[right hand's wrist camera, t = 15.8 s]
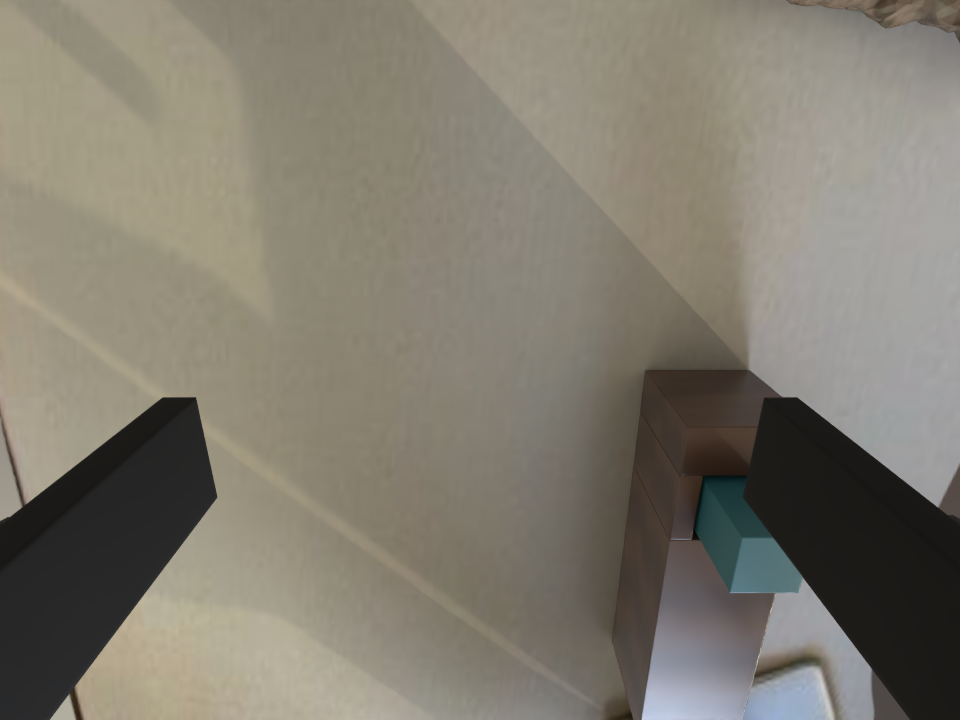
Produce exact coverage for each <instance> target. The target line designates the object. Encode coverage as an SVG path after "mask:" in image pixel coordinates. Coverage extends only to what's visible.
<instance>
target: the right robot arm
mask: <svg viewBox="0 0 960 720" xmlns="http://www.w3.org/2000/svg"><path fill="white" fill-rule="evenodd" d="M216 498H217V493H216V489H215V484H214V479H213V475H212V470H211V465H210V461H209V456H208V451H207V447H206V442H205V437H204V433H203V428H202V423H201V419H200V414H199V409H198V405H197V400H196V397H163V398H161V399H160V400H159V401H158V402H156V403H155V404H154V405H153V406H151V407H150V408H149V409H147V410H146V411H145V412H144V413H142V414H141V415H140V416H139V417H137V418H136V419H135V420H133V421H132V422H131V423H130V424H128V425H127V426H126V427H124V428H123V429H122V430H121V431H119V432H118V433H117V434H116V435H114V436H113V437H112V438H110V439H109V440H108V441H107V442H105V443H104V444H103V445H101V446H100V447H99V448H98V449H96V450H95V451H94V452H93V453H91V454H90V455H89V456H87V457H86V458H85V459H84V460H82V461H81V462H80V463H79V464H77V465H76V466H75V467H73V468H72V469H71V470H70V471H68V472H67V473H66V474H64V475H63V476H62V477H61V478H59V479H58V480H57V481H56V482H54V483H53V484H52V485H50V486H49V487H48V488H47V489H45V490H44V491H43V492H41V493H40V494H39V495H38V496H36V497H35V498H34V499H33V500H31V501H30V502H29V503H27V504H26V505H25V506H24V507H22V508H21V509H20V510H18V511H17V512H16V513H15V514H13V515H12V516H11V517H7V518H5V519H3V520H1V521H0V720H50V719H51V717H52V716H53V715H54V713H55V712H56V711H57V709H58V708H59V707H60V705H61V704H62V703H63V701H64V700H65V699H66V697H67V696H68V695H69V693H70V692H71V691H72V689H73V688H74V687H75V685H76V684H77V683H78V681H79V680H80V679H81V678H82V676H83V675H84V674H85V672H86V671H87V670H88V668H89V667H90V666H91V664H92V663H93V662H94V660H95V659H96V658H97V656H98V655H99V654H100V652H101V651H102V650H103V648H104V647H105V646H106V644H107V643H108V642H109V640H110V639H111V638H112V636H113V635H114V634H115V632H116V631H117V630H118V628H119V627H120V626H121V624H122V623H123V622H124V620H125V619H126V618H127V617H128V615H129V614H130V613H131V611H132V610H133V609H134V607H135V606H136V605H137V603H138V602H139V601H140V599H141V598H142V597H143V595H144V594H145V593H146V591H147V590H148V589H149V587H150V586H151V585H152V583H153V582H154V581H155V579H156V578H157V577H158V575H159V574H160V573H161V571H162V570H163V569H164V567H165V566H166V565H167V563H168V562H169V561H170V559H171V558H172V557H173V556H174V554H175V553H176V552H177V550H178V549H179V548H180V546H181V545H182V544H183V542H184V541H185V540H186V538H187V537H188V536H189V534H190V533H191V532H192V530H193V529H194V528H195V526H196V525H197V524H198V522H199V521H200V520H201V518H202V517H203V516H204V514H205V513H206V512H207V510H208V509H209V508H210V506H211V505H212V504H213V502H214V501H215V500H216ZM743 498H744V500H745V501H746V502H747V504H748V505H749V506H750V508H751V509H752V510H753V512H754V513H755V514H756V516H757V517H758V518H759V520H760V521H761V522H762V524H763V525H764V526H765V528H766V529H767V530H768V532H769V533H770V534H771V536H772V537H773V538H774V540H775V541H776V542H777V544H778V545H779V546H780V548H781V549H782V550H783V552H784V553H785V554H786V556H787V557H788V558H789V559H790V561H791V562H792V563H793V565H794V566H795V567H796V569H797V570H798V571H799V573H800V574H801V575H802V577H803V578H804V579H805V581H806V582H807V583H808V585H809V586H810V587H811V589H812V590H813V591H814V593H815V594H816V595H817V597H818V598H819V599H820V601H821V602H822V603H823V605H824V606H825V607H826V609H827V610H828V611H829V613H830V614H831V615H832V617H833V618H834V619H835V620H836V622H837V623H838V624H839V626H840V627H841V628H842V630H843V631H844V632H845V634H846V635H847V636H848V638H849V639H850V640H851V642H852V643H853V644H854V646H855V647H856V648H857V650H858V651H859V652H860V654H861V655H862V656H863V658H864V659H865V660H866V662H867V663H868V664H869V666H870V667H871V668H872V670H873V671H874V672H875V674H876V675H877V676H878V678H879V679H880V680H881V681H882V683H883V684H884V685H885V687H886V688H887V689H888V691H889V692H890V693H891V695H892V696H893V697H894V699H895V700H896V701H897V703H898V704H899V705H900V707H901V708H902V709H903V711H904V712H905V713H906V715H907V716H908V717H909V719H910V720H960V519H959V518H957V517H955V516H953V515H947V514H945V513H944V512H943V511H942V510H940V509H939V508H938V507H936V506H935V505H934V504H933V503H931V502H930V501H929V500H927V499H926V498H925V497H924V496H922V495H921V494H920V493H919V492H917V491H916V490H915V489H913V488H912V487H911V486H910V485H908V484H907V483H906V482H904V481H903V480H902V479H901V478H899V477H898V476H897V475H896V474H894V473H893V472H892V471H890V470H889V469H888V468H887V467H885V466H884V465H883V464H881V463H880V462H879V461H878V460H876V459H875V458H874V457H873V456H871V455H870V454H869V453H867V452H866V451H865V450H864V449H862V448H861V447H860V446H859V445H857V444H856V443H855V442H853V441H852V440H851V439H850V438H848V437H847V436H846V435H844V434H843V433H842V432H841V431H839V430H838V429H837V428H836V427H834V426H833V425H832V424H830V423H829V422H828V421H827V420H825V419H824V418H823V417H821V416H820V415H819V414H818V413H816V412H815V411H814V410H813V409H811V408H810V407H809V406H807V405H806V404H805V403H804V402H802V401H801V400H800V399H799V398H797V397H764V400H763V405H762V409H761V414H760V419H759V423H758V428H757V433H756V437H755V442H754V447H753V451H752V456H751V461H750V465H749V470H748V475H747V479H746V484H745V489H744V493H743Z"/></svg>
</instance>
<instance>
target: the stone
mask: <svg viewBox="0 0 960 720" xmlns="http://www.w3.org/2000/svg"><path fill="white" fill-rule="evenodd" d="M787 1H788V2H789V3H790V4H795V5H802V6H812V5H820V6H824V7H829V8H836V9H843V8H845V9H847V10H856V11H860V12H863V13H864V14H865V15H866V16H867V17H869V18H871V19H873V20H874V21H876V22H878V23H879V24H880V25H881V26H883V27H884V28H893V27H896V26H900V25H903V24H906V23H909V22H912V21H918V22H919V23H920V24H922V25H929V26H934V27H939V28H940V29H942V30H944V31H946V32H955V34H956V36H957V39H958V40H959V42H960V0H787Z"/></svg>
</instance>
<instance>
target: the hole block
mask: <svg viewBox="0 0 960 720" xmlns="http://www.w3.org/2000/svg"><path fill="white" fill-rule="evenodd" d="M764 397H782V396H780V395H779V394H778V393H777V392H775V391H774V390H773V389H772V388H771V387H769V386H768V385H767V384H766V383H764V382H763V381H762V380H761V379H760V378H758V377H757V376H756V375H755V374H754V373H752V372H751V371H750V370H646V371H645V378H644V386H643V394H642V403H641V412H640V419H639V427H638V435H637V444H636V452H635V460H634V467H633V475H632V484H631V492H630V500H629V508H628V516H627V525H626V533H625V541H624V549H623V558H622V566H621V574H620V582H619V590H618V599H617V607H616V615H615V623H614V632H613V640H612V642H613V646H614V649H615V653H616V657H617V660H618V664H619V668H620V672H621V675H622V679H623V683H624V686H625V690H626V694H627V698H628V701H629V705H630V709H631V713H632V716H633V720H743V716H744V713H745V709H746V705H747V701H748V697H749V693H750V690H751V686H752V682H753V678H754V674H755V670H756V667H757V663H758V659H759V655H760V651H761V648H762V644H763V640H764V636H765V632H766V628H767V625H768V621H769V617H770V613H771V609H772V605H773V602H774V598H775V594H776V593H730V592H729V591H728V589H727V587H726V585H725V583H724V582H723V580H722V578H721V576H720V575H719V573H718V571H717V569H716V567H715V566H714V564H713V562H712V560H711V558H710V557H709V555H708V553H707V551H706V550H705V548H704V546H703V544H702V542H701V541H700V539H699V537H698V535H697V534H696V532H695V530H694V524H695V518H696V512H697V507H698V501H699V496H700V490H701V484H702V479H703V476H702V475H748V470H749V465H750V461H751V456H752V451H753V447H754V442H755V437H756V433H757V428H758V423H759V419H760V414H761V409H762V405H763V400H764Z"/></svg>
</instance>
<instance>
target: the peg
mask: <svg viewBox="0 0 960 720" xmlns="http://www.w3.org/2000/svg"><path fill="white" fill-rule="evenodd" d="M702 476H703V479H702V484H701V490H700V496H699V501H698V507H697V512H696V518H695V524H694V530H695V532H696V534H697V535H698V537H699V539H700V541H701V542H702V544H703V546H704V548H705V550H706V551H707V553H708V555H709V557H710V558H711V560H712V562H713V564H714V566H715V567H716V569H717V571H718V573H719V575H720V576H721V578H722V580H723V582H724V583H725V585H726V587H727V589H728V591H729V592H730V593H798V592H799V589H800V586H801V582H802V579H803V577H802V575H801V574H800V573H799V571H798V570H797V569H796V567H795V566H794V565H793V563H792V562H791V561H790V559H789V558H788V557H787V556H786V554H785V553H784V552H783V550H782V549H781V548H780V546H779V545H778V544H777V542H776V541H775V540H774V538H773V537H772V536H771V534H770V533H769V532H768V530H767V529H766V528H765V526H764V525H763V524H762V522H761V521H760V520H759V518H758V517H757V516H756V514H755V513H754V512H753V510H752V509H751V508H750V506H749V505H748V504H747V502H746V501H745V500H744V498H743V493H744V489H745V484H746V479H747V475H702Z"/></svg>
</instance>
